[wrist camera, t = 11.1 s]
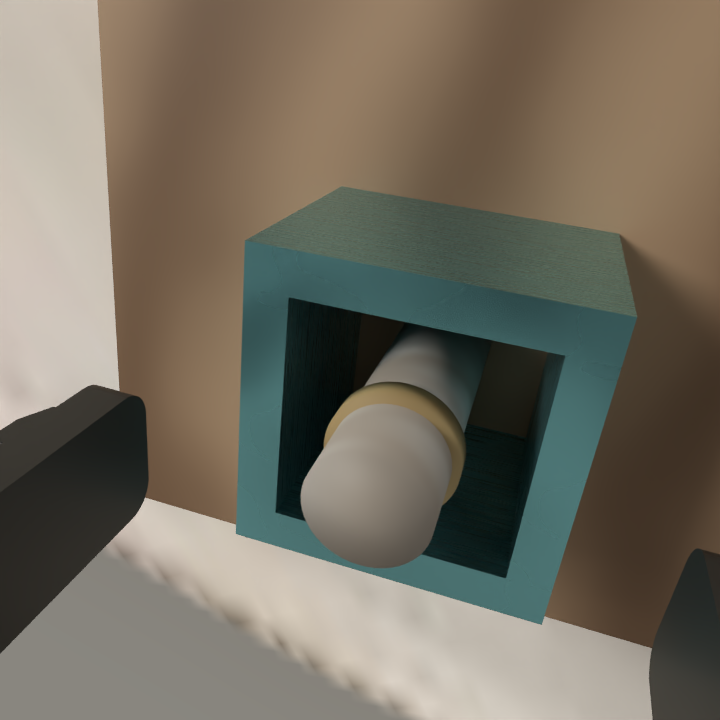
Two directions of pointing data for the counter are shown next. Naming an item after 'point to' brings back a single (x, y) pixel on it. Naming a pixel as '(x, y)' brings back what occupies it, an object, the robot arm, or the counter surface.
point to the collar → (446, 312)
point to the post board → (442, 185)
